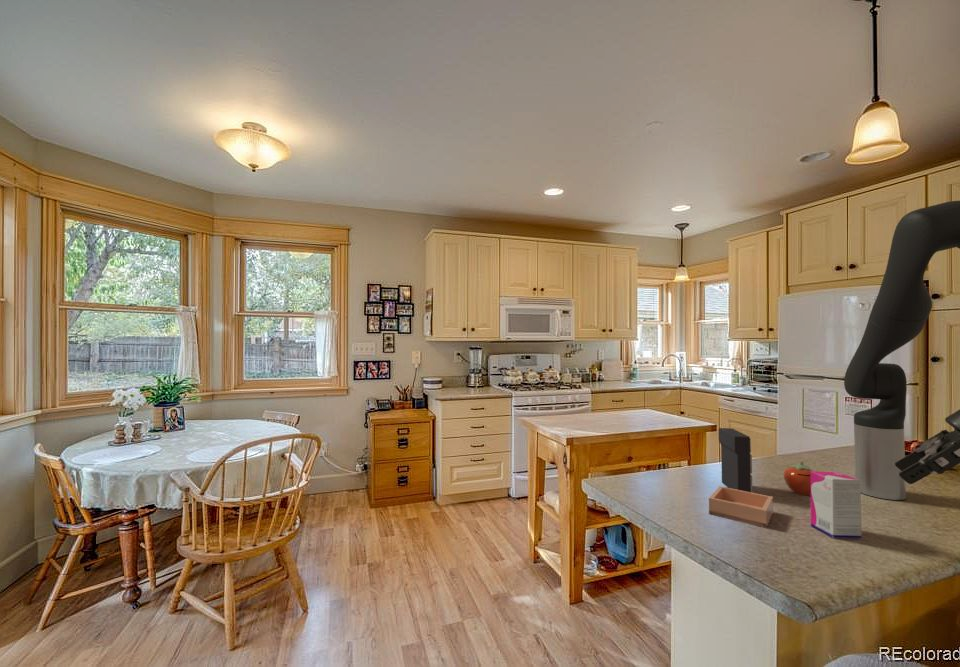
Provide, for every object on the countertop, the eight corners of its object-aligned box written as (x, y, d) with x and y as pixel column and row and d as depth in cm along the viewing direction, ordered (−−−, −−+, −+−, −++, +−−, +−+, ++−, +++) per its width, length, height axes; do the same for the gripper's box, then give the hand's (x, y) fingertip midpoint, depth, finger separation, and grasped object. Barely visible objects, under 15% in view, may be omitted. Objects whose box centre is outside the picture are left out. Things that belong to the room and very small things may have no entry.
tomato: (791, 496, 103) (790, 463, 103) (778, 486, 110) (778, 456, 110) (826, 499, 101) (825, 466, 101) (811, 488, 108) (810, 458, 108)
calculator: (754, 497, 102) (753, 436, 102) (735, 496, 103) (734, 436, 103) (736, 483, 113) (735, 428, 113) (719, 482, 113) (718, 427, 114)
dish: (720, 500, 100) (719, 486, 100) (773, 512, 93) (772, 496, 93) (709, 513, 92) (708, 498, 92) (766, 527, 85) (766, 510, 85)
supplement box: (863, 538, 80) (861, 479, 81) (832, 538, 80) (831, 479, 81) (837, 525, 86) (836, 470, 86) (809, 525, 86) (808, 470, 86)
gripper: (962, 399, 77) (878, 450, 84) (981, 407, 66) (883, 465, 74) (1008, 431, 73) (917, 482, 81) (1036, 445, 63) (928, 502, 70)
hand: (901, 473), depth 77 cm, fingers open, 8 cm apart
